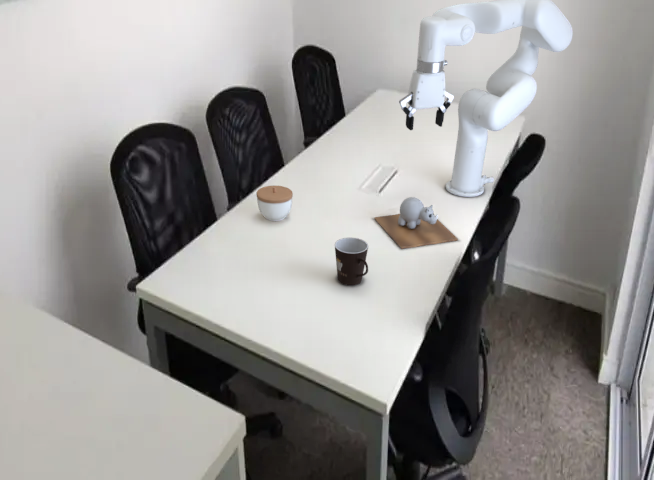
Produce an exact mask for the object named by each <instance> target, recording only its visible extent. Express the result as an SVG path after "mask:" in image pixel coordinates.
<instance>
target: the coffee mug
mask: <svg viewBox="0 0 654 480" xmlns="http://www.w3.org/2000/svg"><path fill="white" fill-rule="evenodd" d="M368 251H369V244H368V242H367V241H366V240H364V239H361V238H358V237H343V238H340V239H338V240H336V241H335V242H334V253H335V263H336V274H337V275H336V276H337V281H338V283H340V284H341V285H344V286H348V287H349V286H351V287H353V286H354V287H355V286H357V285H359V284H361V283H362V282H363V277H364V276H366V275H367V274H368V273H369V265H368V263H367V261H366V260H367V256H368Z"/></svg>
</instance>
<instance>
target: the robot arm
mask: <svg viewBox="0 0 654 480" xmlns="http://www.w3.org/2000/svg"><path fill="white" fill-rule="evenodd" d="M519 27H521V28H520V34H519V41H518V45H517V48H516V50H515V52H514V53H513V54H512V55H511V56H510V57H509V59H507V60H506V61H505V62H504V63H503V64H501V66H500V67H498V68H497V69H496V70H495V71H494V72H493V73H492V74H491V75H490V76H489V78H488V79H487V81H486V85H485V89H486V90H483V89H480V88H470V89H468V90H466V91H464V92H463V93H462V95H461V96H460V99H459V101H458V107H457V112H458V113H457V115H458V129H457V138H456V143H455V144H456V145H455V152H454V159H453V164H452V165H453V167H452V174H451V179H450V180H448V181H447V182H446V183H445V190H446V191H447V192H448V193H450V194H452V195H455V196H458V197H462V198H463V197H465V198H473V197H478V196H481V195H482V194H484V191H485V187H484V186H485V184H493V183H494V181H495V179H494V176H487V175H486V174H484V175H483V168H484V163H485V158H486V157H485V156H486V152H487V151H486V150H487V146H488V141H489V140H488V139H489V131H491V132H499V131H501V130H503V129H504V128H506V127H507V126H508V125H509V124H511V123H512V122H513V121H514V120H515V119H516V118H517V117H519V115H520V114H522V113H523V112H524V111H525V110H526V109H527V108H528V107H529V106H530V105H531V104H532V102H533V101H534V98H535V96H536V95H537V90H538V84H537V81H536V79H535V78H534V76H532V75H533V74H534V73H535V72H536V71H537V68H538V64H539V55H540V49H544V50H545V51H546V50H547V51H550V52H554V53H561V52H563V51H564V50H566V49H567V48H568V47H569V46H570V45H571V42H572V40H573V35H574V32H573V31H574V30H573V26H572V24H571V22H570V21H569V20H568V18H567V17H566V16H565V15H564V13H563V12H562V10H561V9H560V8H559V6H558V5H557V4H556V3H555V2H554V1H553V0H491V1H490V0H489V1H480V2H479V1H478V2H467V3H458V4H453V5H450V6H446V7H443V8H440V9H438V10H436V11H435V12H433V14H432V15H431V16H430V15H429V16H424V17H423V18H422V19H421V20H420V23H419V34H418V46H417V57H416V68H415V69H414V70H413V72H412V75H411V78H410V82H409V88H408V94H407V95H405V96H404V97H402V98H401V99H399V101H398V103H399V106H400V108H401V110H402V112H404V114H405V127H406V128H407V129H408V130H409V131H414V125H415V124H414V123H415V116H414V114H415V113H416V111H417V110H426V109H427V110H428V109H436V108H437V109H436V113H435V120H434V121H435V122H434V123H435V125H437V126H438V127H440V128H441V127H443V123H444V119H445V113H446V112H447V110H448V109H449V108H450V106H451V103H452V102H453V100H454V98H455V96H454V95H453V94H452V93H450V92H448V91H446V72H445V70H444V68H445V66H448V60H446V59H445V56H446V47H448V46H449V47H451V46H452V47H462V46H466V45H467V44H469V43H470V42H471V41H472V40H473V38H474V36H475V34H476V33H477V34H484V35H495V34H499V33H502V32H505V31H508V30H513V29H516V28H519ZM445 98H446V100H445ZM407 104H408V106H407Z"/></svg>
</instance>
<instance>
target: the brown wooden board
mask: <svg viewBox="0 0 654 480" xmlns="http://www.w3.org/2000/svg"><path fill="white" fill-rule="evenodd" d="M399 216H400V213H396V214H389V215H383V216H375V217H374V221H375V222H376V223H377V224H378V225H379V226H380V227H381V228H382V229H383V230H384V231H385V233H387V235H388V236H389V237H390V238H391V239H392V240H393V242H394V243H395V244H396V245H397V246H398V247H399V248H400V249H401V250H403V249H409V248H410V249H411V248H417V247H424V246H430V245H438V244H444V243H450V242H456V241H458V239H459V238H458V237H457V236H456V235H455V234H454V233H453V232H451V231H450V230H449V229H448V227H446V226H445V225H444V224H443V223H442V222H441V221H440V220H439V218H437V221H436V223H435V224H433V225H431V224H429V223H428V222H426V221H423V220H421V222H420V224H419V225H416V227H415V228H414V229H410V228H408V227H407V223H406V225H403V226H402V225H399V224H398V219H399Z"/></svg>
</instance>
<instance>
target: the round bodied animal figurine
mask: <svg viewBox="0 0 654 480" xmlns="http://www.w3.org/2000/svg"><path fill="white" fill-rule="evenodd" d="M433 206H434V205H433V204H431V205H430V206H425V205H424V203H423V201H421V199H419V198H418V197H415V196H410V197H407V198H405V199H404V200H403V201H402V202H401V204H400V206H399V214H400V216H399V219H398V224H399V225H402V226H403V225H406V223H407V227H408V228H410V229H414V228H415V227H416V225H419V224H420V222H421V220H423V221H426V222H428V223H429V224H431V225H433V224H435V223H436V221H437V219H439V215H438V214H434V210H433Z"/></svg>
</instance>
